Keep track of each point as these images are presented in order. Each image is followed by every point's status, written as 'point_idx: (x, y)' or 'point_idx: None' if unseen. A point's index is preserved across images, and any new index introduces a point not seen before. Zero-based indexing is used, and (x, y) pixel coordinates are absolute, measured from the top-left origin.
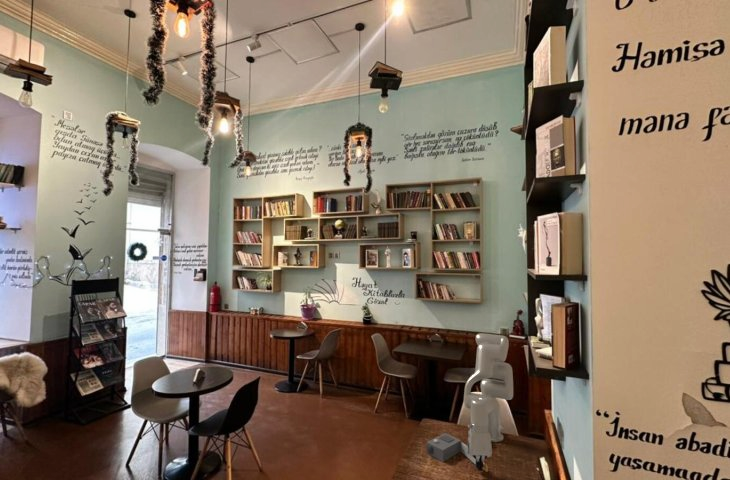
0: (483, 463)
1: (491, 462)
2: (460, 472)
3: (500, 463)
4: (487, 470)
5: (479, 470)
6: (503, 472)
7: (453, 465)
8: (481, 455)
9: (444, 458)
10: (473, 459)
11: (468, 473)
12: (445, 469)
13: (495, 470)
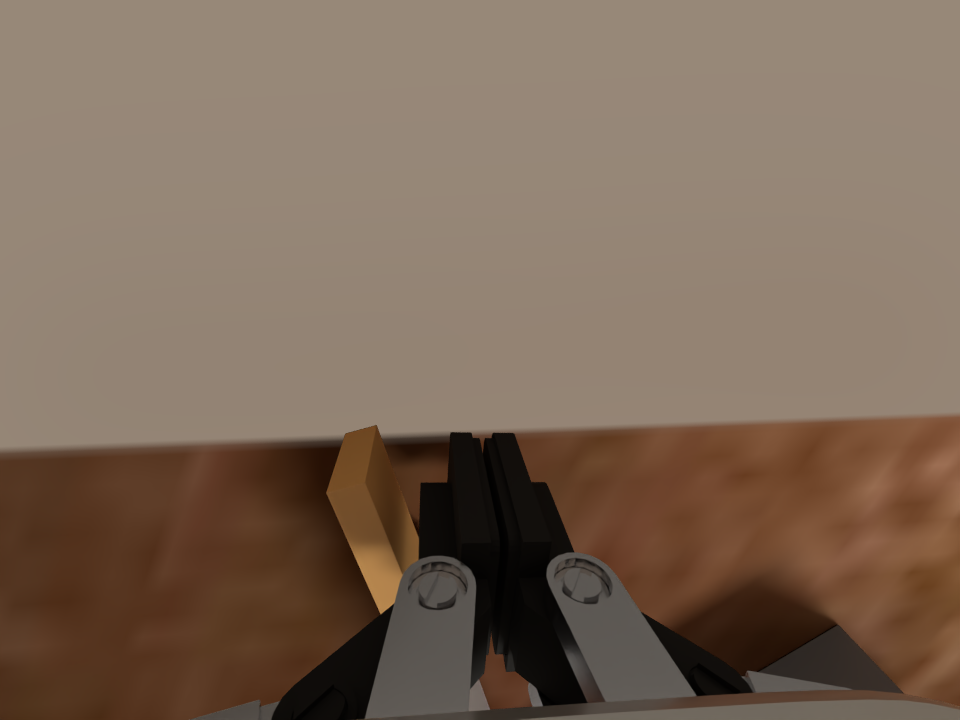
0: (387, 568)
1: (187, 681)
2: (748, 444)
3: (44, 675)
4: (346, 442)
5: (504, 433)
6: (43, 475)
7: (751, 577)
8: (568, 710)
9: (836, 672)
10: (471, 690)
11: (648, 426)
12: (900, 495)
13: (179, 517)
